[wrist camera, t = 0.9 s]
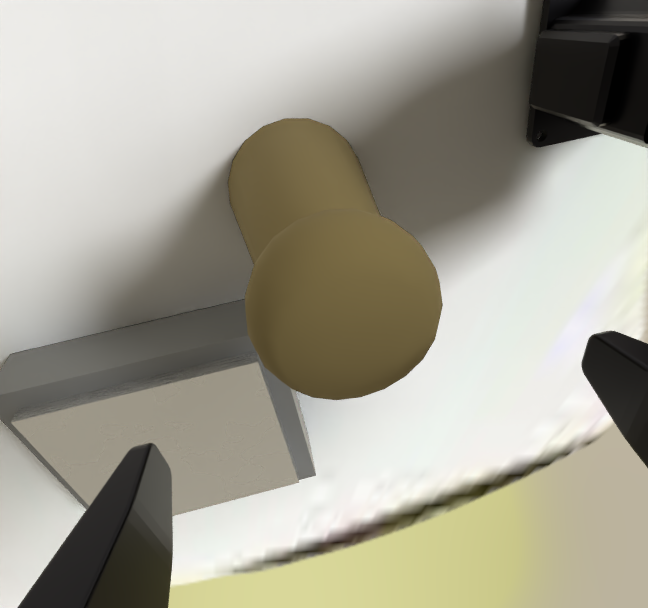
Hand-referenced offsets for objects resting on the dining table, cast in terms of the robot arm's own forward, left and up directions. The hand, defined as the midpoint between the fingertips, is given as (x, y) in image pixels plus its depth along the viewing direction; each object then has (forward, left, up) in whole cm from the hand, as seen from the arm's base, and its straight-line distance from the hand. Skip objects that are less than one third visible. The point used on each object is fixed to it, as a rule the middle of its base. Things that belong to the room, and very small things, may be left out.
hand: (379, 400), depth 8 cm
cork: (0, 0, -13) cm, 13 cm away
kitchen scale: (+9, +11, -13) cm, 19 cm away
